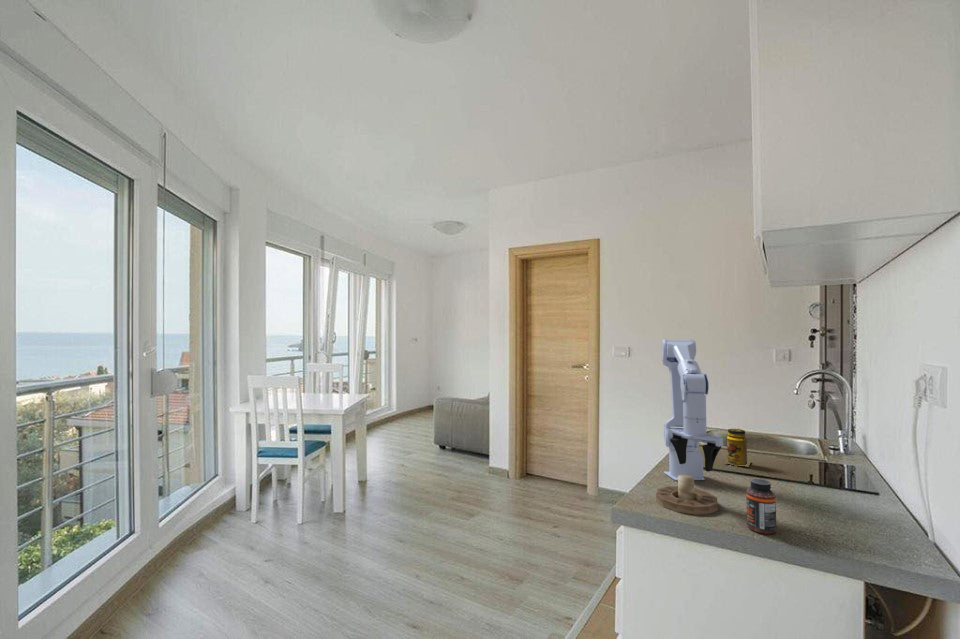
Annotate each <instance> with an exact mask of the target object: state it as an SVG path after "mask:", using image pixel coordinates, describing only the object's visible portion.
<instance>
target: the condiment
mask: <svg viewBox="0 0 960 639" xmlns="http://www.w3.org/2000/svg"><path fill="white" fill-rule="evenodd" d="M747 445H748V441H747V438H746V431H745V430H744V429H740V428H728V430H727V436H726V447H727V448H726V453H727V454H726V455H727V456H726V458H727V460H726V462H727V461H728V463H730V464H733V465H746V464H747V462H748V446H747Z"/></svg>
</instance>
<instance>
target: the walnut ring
mask: <svg viewBox="0 0 960 639" xmlns="http://www.w3.org/2000/svg"><path fill="white" fill-rule="evenodd" d="M694 498H695V500H694V501H689V500H682V499H679V498H678V485H668V486H663V487H659V488H657V489H656V492H655V501H656V502H657V503H658V504H659V505H660V506H661V507H662V508H665V509H668V510H670V511H673V512H676V513H682V514H687V515H688V514H689V515H710V514H713V513H715V512H717V511H719V510H718V509H719V505H718V504H719V503H718V502H719V501H718V496H716V495H714V494H712V493H711V492H709V491H707V490H702V489H700V488H699V489H698V488H696V487H694Z"/></svg>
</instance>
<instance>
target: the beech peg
mask: <svg viewBox="0 0 960 639" xmlns="http://www.w3.org/2000/svg"><path fill="white" fill-rule="evenodd" d="M677 486H678V498H679V499H682V500H689V501H694V500H695V498H694V488H695V480H694V477H692V476H689V475H678V481H677Z"/></svg>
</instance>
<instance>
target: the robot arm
mask: <svg viewBox="0 0 960 639" xmlns="http://www.w3.org/2000/svg"><path fill="white" fill-rule="evenodd" d="M660 349H661V362H662V365H664V366H665V367H668V368H667V369H668V371H669V376H670V379H669V380H670V394H671V395H670V396H671V407H672V408H671V411H672V412H671V413H672V414H671V415H672V417H670V418H669V419H668V420H666V421H665V422H664V425H663V442H664V445H665V446H666V447H667V448H668V460H669V461H668V462H669V464H668V466H669V469H668V470H669V471H665V470H664V471H663V473H664V474H665V475H666V476H668V477H669V478H671V479H673V480H674V481H677V482H678V475H689V476H692V477H694V481H704V480H706V479H705V477H704V470H705V472H711V471H713V468H714V463H715V460H716V458H717V456H718V454H719V452H720V450H721V449H722V447H723V446H724V438H723V437H718V436H715V435H712V434H709V433H707V396H708V394H709V388H710V387H709V386H710V383H709V377H708V375H707V373H704V372H702V371H701V368H700V366H699V363H698V362H697V361H696V360H695V358H696V355H697V344H696V340H694V339H693V338H690V339H666V338H663V339H662V341H661V348H660ZM700 443H704V444H703V445H701V446H702V450H703V454H702V452H701V451H700V449H698V448H699V446H700ZM703 455H704V459H703ZM704 468H705V469H704Z"/></svg>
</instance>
